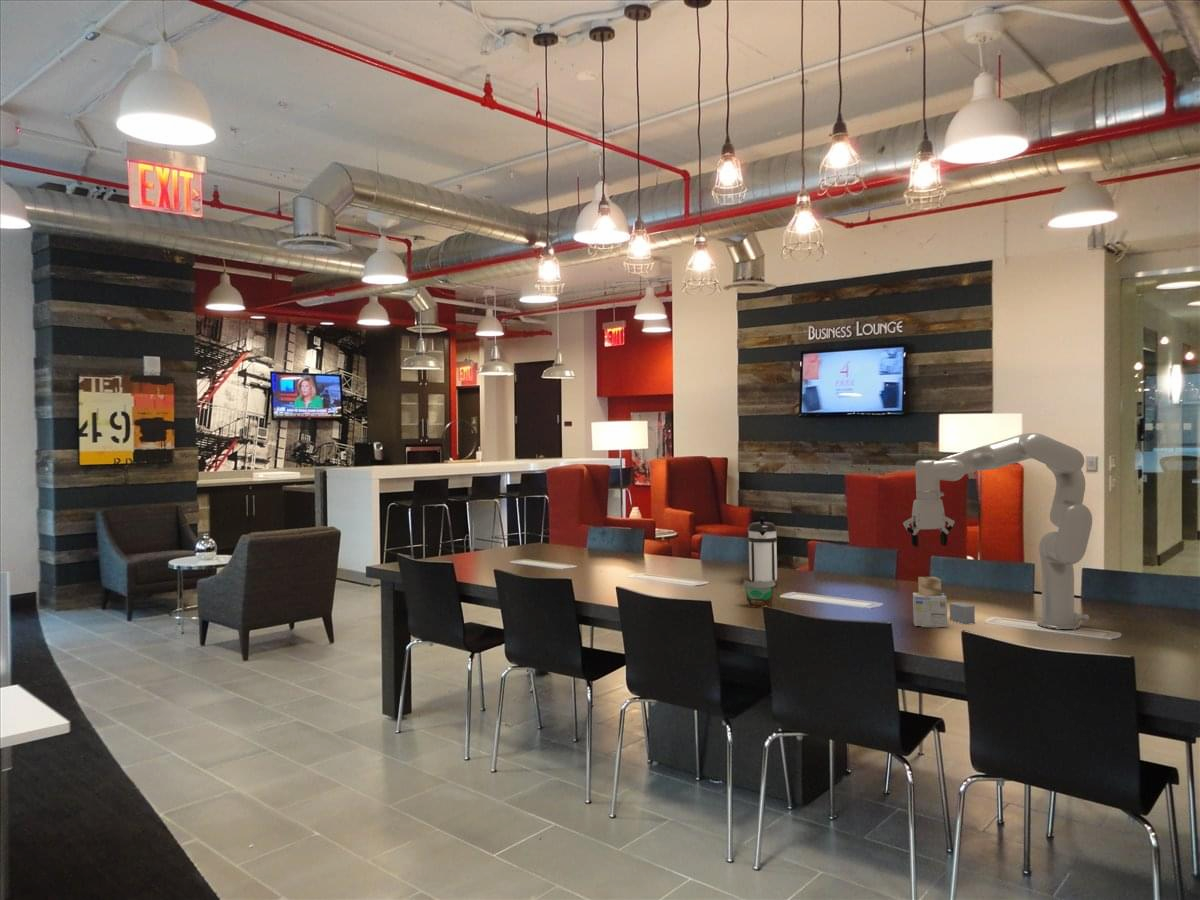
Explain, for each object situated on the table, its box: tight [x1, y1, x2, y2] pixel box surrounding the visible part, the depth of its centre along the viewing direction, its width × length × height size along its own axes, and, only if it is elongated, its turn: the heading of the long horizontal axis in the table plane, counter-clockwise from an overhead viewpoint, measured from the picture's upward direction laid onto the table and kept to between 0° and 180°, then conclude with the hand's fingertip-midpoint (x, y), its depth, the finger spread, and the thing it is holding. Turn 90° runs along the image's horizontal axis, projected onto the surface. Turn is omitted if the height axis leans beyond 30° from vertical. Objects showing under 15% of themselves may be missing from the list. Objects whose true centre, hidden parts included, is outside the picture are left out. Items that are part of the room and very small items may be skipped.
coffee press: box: [747, 516, 778, 586], centre depth 370 cm, size 17×16×30 cm
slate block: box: [949, 601, 976, 625], centre depth 291 cm, size 4×7×6 cm, turn 16°
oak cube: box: [917, 576, 942, 596], centre depth 286 cm, size 6×6×6 cm
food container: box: [743, 579, 776, 608], centre depth 323 cm, size 12×6×10 cm, turn 76°
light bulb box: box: [912, 592, 948, 628], centre depth 286 cm, size 11×7×11 cm, turn 74°
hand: (929, 545), depth 286 cm, fingers open, 9 cm apart
